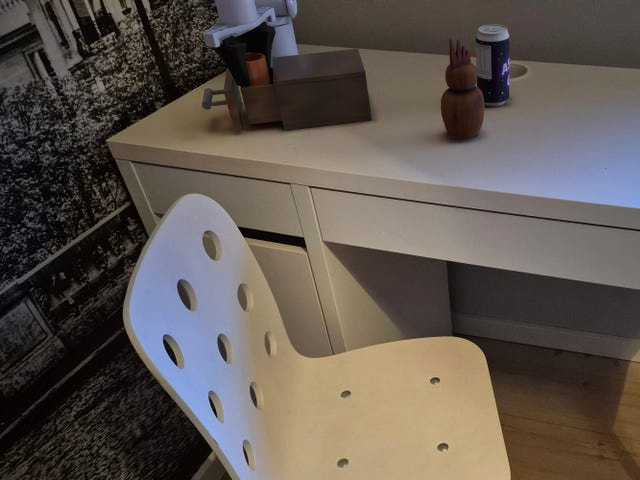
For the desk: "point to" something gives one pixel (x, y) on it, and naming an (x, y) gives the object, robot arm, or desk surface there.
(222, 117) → the desk surface
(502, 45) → the beverage can
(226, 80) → the drawer
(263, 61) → the cup
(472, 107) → the wooden figurine
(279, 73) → the cabinet
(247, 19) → the robot arm
